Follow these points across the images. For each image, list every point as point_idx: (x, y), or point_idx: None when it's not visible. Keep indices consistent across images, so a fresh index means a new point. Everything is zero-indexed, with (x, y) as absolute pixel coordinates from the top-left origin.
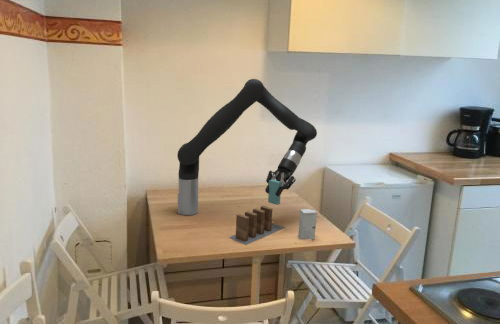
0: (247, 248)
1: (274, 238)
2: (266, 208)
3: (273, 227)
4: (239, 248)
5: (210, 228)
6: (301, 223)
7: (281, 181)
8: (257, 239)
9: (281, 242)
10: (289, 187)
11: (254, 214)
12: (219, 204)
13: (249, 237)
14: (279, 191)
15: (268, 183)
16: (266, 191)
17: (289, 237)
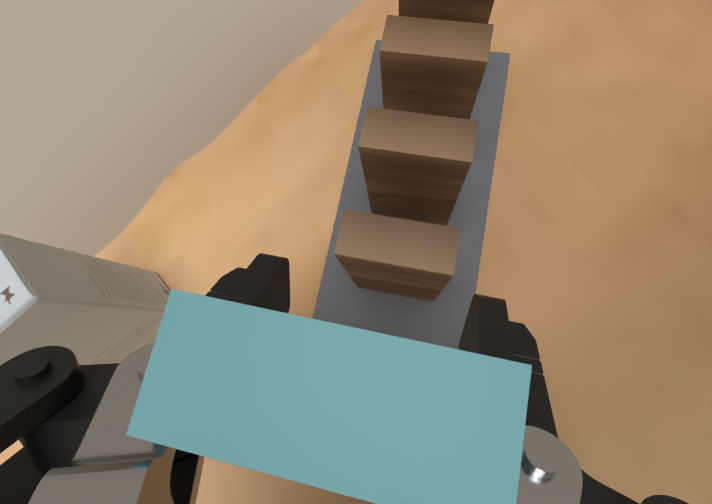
0: (357, 32)
1: (296, 209)
2: (381, 215)
3: None
4: (389, 11)
5: (697, 105)
6: (92, 267)
7: (111, 462)
8: (361, 126)
9: (242, 186)
10: (12, 470)
11: (393, 31)
12: None
13: None
14: (215, 295)
15: (571, 467)
16: (475, 295)
17: (228, 272)
